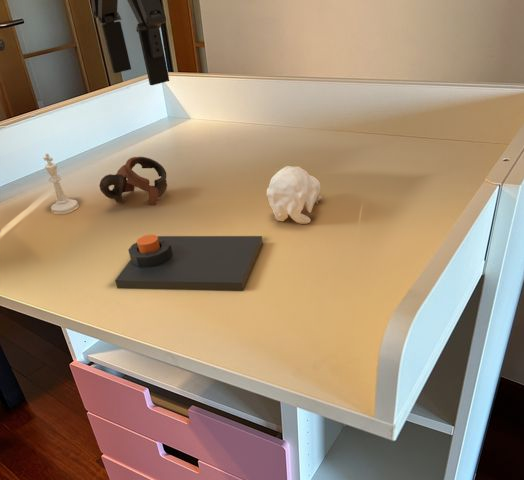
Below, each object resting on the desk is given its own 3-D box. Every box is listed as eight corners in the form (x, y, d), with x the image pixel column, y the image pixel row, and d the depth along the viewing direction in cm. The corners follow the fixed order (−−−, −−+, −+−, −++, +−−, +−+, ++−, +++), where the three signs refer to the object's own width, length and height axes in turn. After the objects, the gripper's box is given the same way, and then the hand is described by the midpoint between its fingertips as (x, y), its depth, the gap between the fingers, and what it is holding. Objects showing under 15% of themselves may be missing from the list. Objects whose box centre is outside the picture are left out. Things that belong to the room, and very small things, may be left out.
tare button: (136, 254, 80) (133, 244, 79) (143, 244, 82) (141, 234, 81) (155, 254, 79) (153, 244, 78) (163, 244, 81) (160, 234, 80)
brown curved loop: (143, 186, 108) (154, 150, 103) (168, 219, 105) (181, 183, 100) (86, 192, 101) (94, 153, 95) (111, 228, 98) (121, 189, 92)
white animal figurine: (261, 171, 83) (294, 151, 91) (265, 227, 87) (296, 202, 96) (301, 174, 80) (331, 153, 89) (302, 231, 85) (331, 205, 94)
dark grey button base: (117, 288, 78) (111, 270, 76) (150, 244, 88) (146, 226, 86) (242, 291, 74) (239, 271, 72) (263, 244, 84) (260, 225, 82)
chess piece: (65, 216, 100) (46, 160, 94) (45, 212, 102) (25, 158, 96) (84, 204, 103) (67, 150, 97) (65, 201, 106) (47, 148, 99)
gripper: (169, -124, 62) (202, 82, 75) (92, -103, 80) (130, 61, 93) (106, -118, 59) (152, 95, 72) (40, -98, 77) (87, 71, 90)
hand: (140, 76), depth 82 cm, fingers open, 13 cm apart
